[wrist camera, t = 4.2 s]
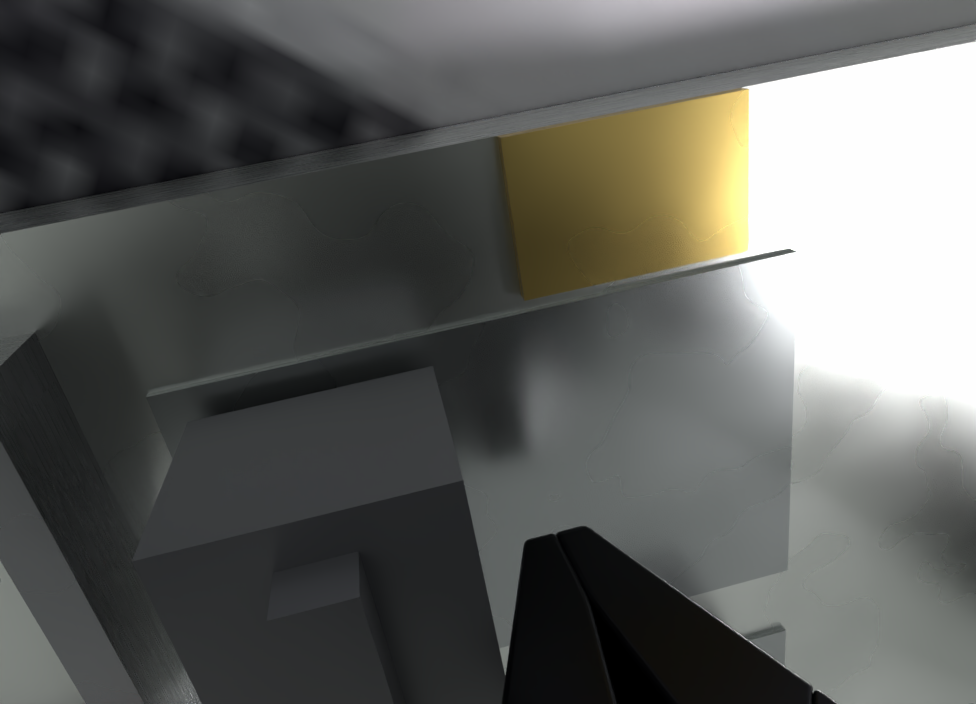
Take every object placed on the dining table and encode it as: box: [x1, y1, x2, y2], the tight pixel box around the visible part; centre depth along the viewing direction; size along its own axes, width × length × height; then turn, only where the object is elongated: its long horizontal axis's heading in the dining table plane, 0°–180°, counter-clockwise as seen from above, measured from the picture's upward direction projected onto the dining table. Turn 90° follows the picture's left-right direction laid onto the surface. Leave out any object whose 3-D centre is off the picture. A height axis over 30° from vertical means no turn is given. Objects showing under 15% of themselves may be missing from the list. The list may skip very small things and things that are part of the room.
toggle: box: [132, 366, 505, 704], centre depth 8 cm, size 3×5×3 cm, turn 9°
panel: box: [0, 24, 976, 704], centre depth 12 cm, size 24×16×3 cm, turn 99°
